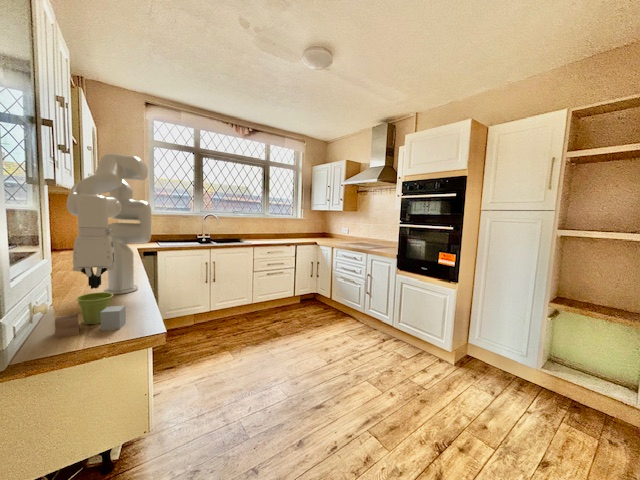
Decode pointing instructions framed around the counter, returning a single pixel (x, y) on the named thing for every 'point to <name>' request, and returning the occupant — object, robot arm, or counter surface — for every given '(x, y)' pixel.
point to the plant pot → (93, 306)
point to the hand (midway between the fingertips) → (95, 287)
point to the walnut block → (66, 326)
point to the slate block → (113, 317)
